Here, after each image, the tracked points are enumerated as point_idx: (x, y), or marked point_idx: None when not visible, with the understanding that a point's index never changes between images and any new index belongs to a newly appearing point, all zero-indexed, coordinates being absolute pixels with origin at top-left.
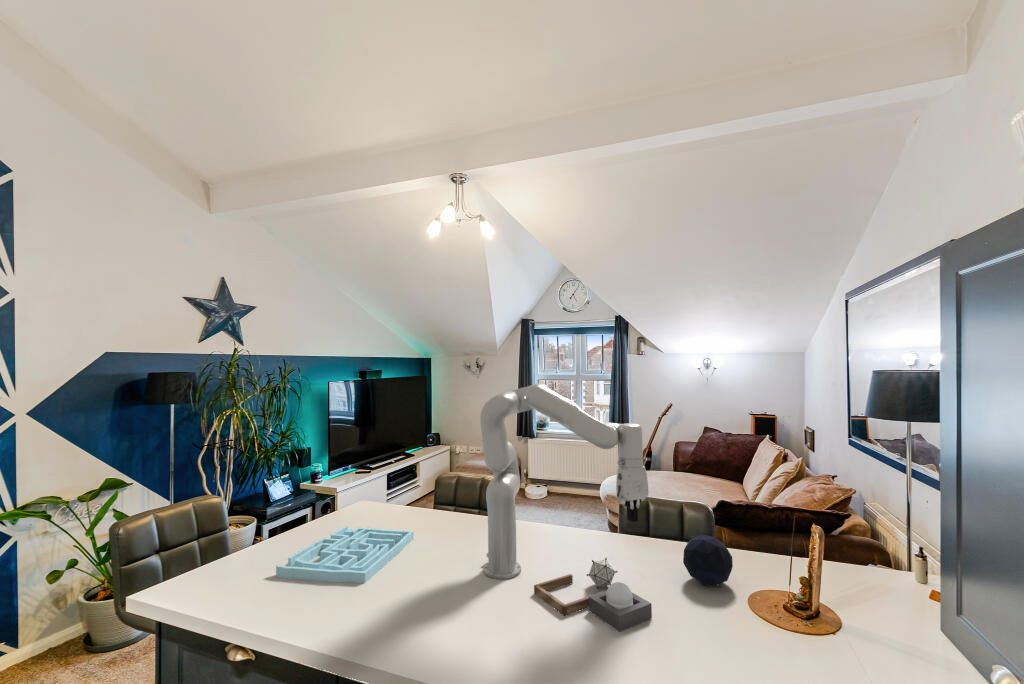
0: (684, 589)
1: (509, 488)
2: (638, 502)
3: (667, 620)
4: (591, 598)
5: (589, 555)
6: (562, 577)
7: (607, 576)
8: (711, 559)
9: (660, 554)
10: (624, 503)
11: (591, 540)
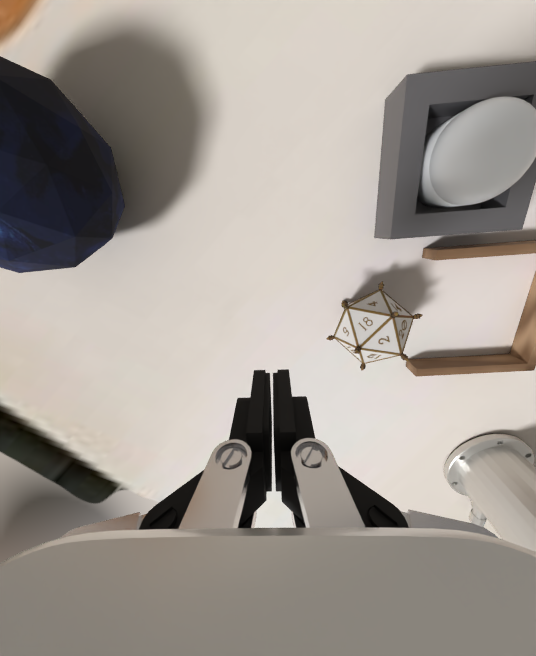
0: (175, 192)
1: None
2: (212, 495)
3: (355, 61)
4: (525, 215)
5: (272, 443)
6: (447, 370)
7: (385, 297)
8: (7, 72)
9: (107, 378)
10: (426, 525)
11: None
